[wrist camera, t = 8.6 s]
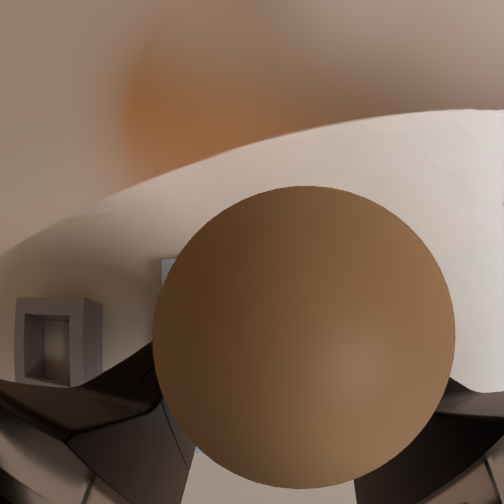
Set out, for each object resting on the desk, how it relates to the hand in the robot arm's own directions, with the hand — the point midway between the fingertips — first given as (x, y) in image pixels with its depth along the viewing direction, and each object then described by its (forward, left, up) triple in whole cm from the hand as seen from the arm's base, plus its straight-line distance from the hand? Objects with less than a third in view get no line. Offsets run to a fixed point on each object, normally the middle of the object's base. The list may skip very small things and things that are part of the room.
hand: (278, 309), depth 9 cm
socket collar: (-1, +15, -9) cm, 18 cm away
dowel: (-1, 0, -7) cm, 7 cm away
